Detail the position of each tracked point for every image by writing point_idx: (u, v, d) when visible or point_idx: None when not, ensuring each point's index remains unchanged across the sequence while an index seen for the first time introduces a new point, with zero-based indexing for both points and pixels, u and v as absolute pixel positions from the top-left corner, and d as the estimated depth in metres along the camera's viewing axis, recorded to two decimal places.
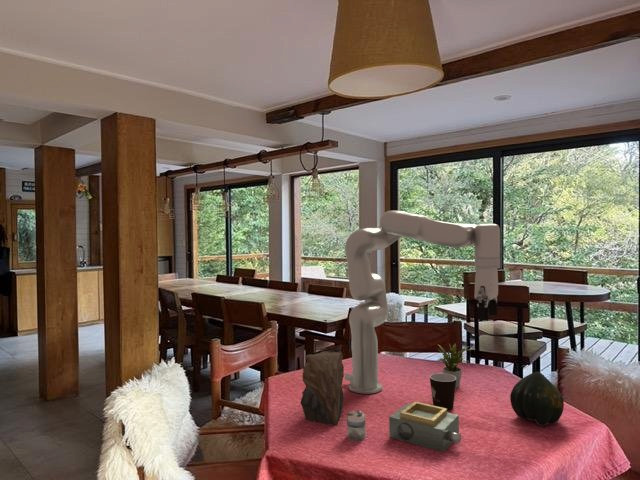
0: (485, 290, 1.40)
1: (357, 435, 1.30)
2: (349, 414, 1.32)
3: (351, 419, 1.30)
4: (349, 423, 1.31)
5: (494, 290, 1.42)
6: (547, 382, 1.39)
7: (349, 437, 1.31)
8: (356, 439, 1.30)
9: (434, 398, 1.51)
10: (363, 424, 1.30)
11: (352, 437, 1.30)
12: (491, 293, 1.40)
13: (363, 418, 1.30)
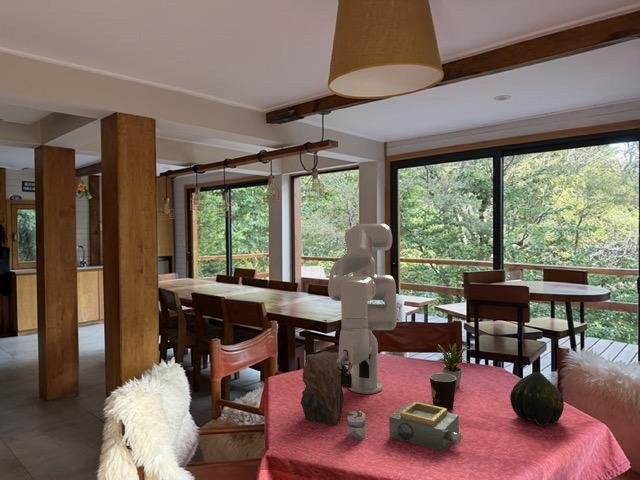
0: (348, 354, 1.27)
1: (357, 435, 1.30)
2: (349, 414, 1.32)
3: (351, 419, 1.30)
4: (349, 423, 1.31)
5: (360, 353, 1.29)
6: (547, 382, 1.39)
7: (349, 437, 1.31)
8: (356, 439, 1.30)
9: (434, 398, 1.51)
10: (363, 424, 1.30)
11: (352, 437, 1.30)
12: (355, 357, 1.27)
13: (363, 418, 1.30)
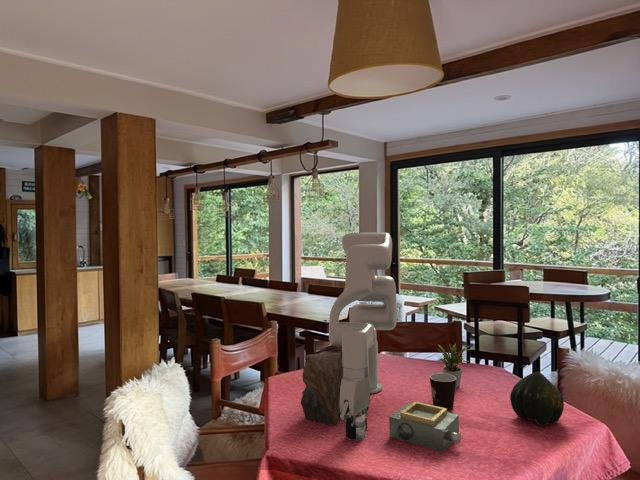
0: (348, 405, 1.27)
1: (357, 434, 1.30)
2: None
3: (351, 418, 1.30)
4: None
5: (361, 403, 1.30)
6: (547, 382, 1.39)
7: None
8: (356, 439, 1.30)
9: (434, 398, 1.51)
10: (363, 424, 1.30)
11: None
12: (356, 408, 1.28)
13: (363, 418, 1.30)
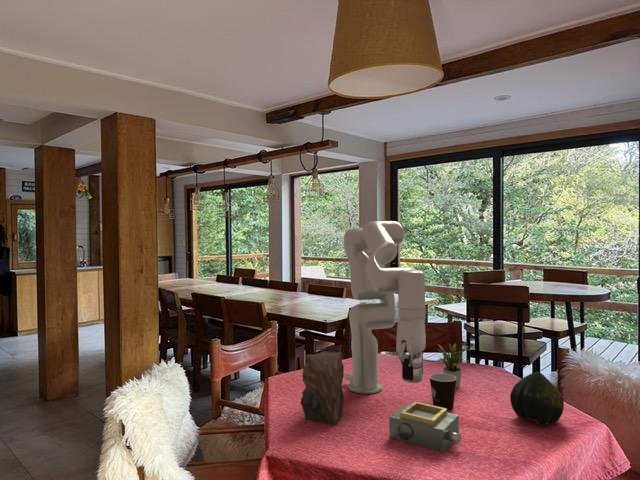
0: (406, 345, 1.26)
1: (414, 376, 1.29)
2: None
3: None
4: None
5: (418, 344, 1.29)
6: (547, 382, 1.39)
7: None
8: (413, 380, 1.29)
9: (434, 398, 1.51)
10: (420, 366, 1.29)
11: None
12: (413, 348, 1.27)
13: (420, 360, 1.29)
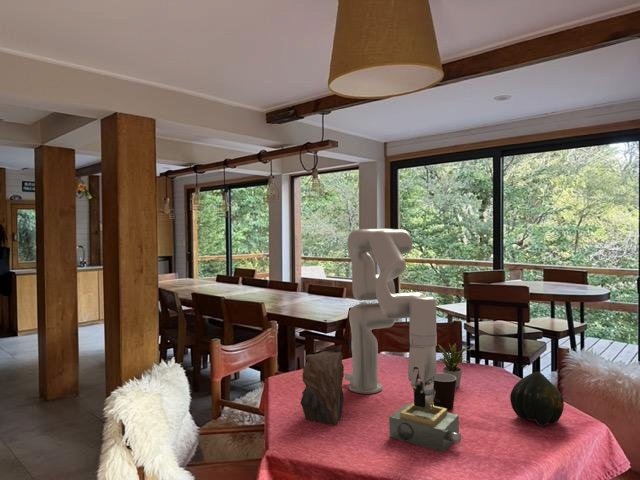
0: (418, 372, 1.27)
1: (426, 402, 1.29)
2: None
3: (420, 386, 1.29)
4: None
5: (430, 370, 1.29)
6: (547, 382, 1.39)
7: None
8: (425, 407, 1.29)
9: (434, 398, 1.51)
10: (432, 392, 1.30)
11: None
12: (425, 375, 1.27)
13: (432, 386, 1.30)
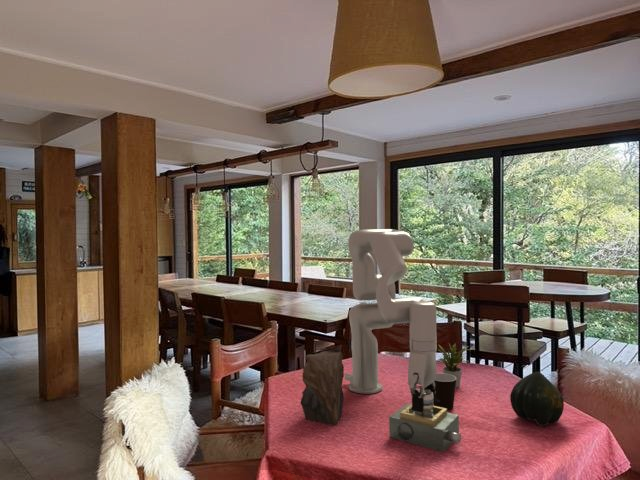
0: (418, 377, 1.27)
1: (426, 413, 1.29)
2: None
3: None
4: None
5: (430, 376, 1.29)
6: (547, 382, 1.39)
7: None
8: None
9: None
10: (432, 402, 1.30)
11: (421, 415, 1.29)
12: (425, 380, 1.27)
13: (432, 396, 1.30)
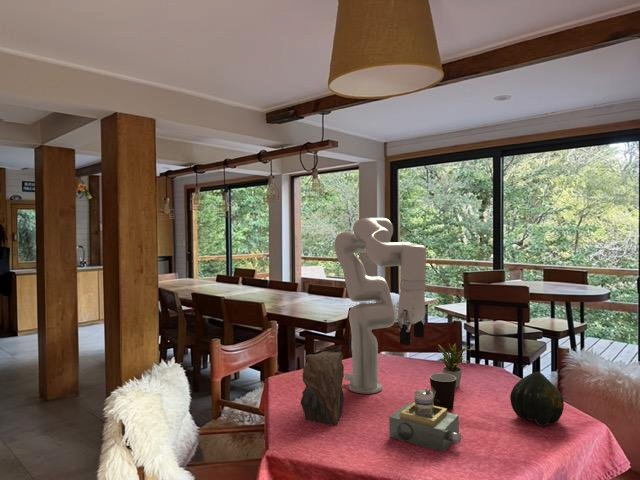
0: (407, 314, 1.35)
1: (426, 412, 1.29)
2: (417, 392, 1.32)
3: (420, 396, 1.30)
4: (417, 401, 1.30)
5: (418, 313, 1.38)
6: (547, 382, 1.39)
7: None
8: None
9: (434, 398, 1.51)
10: (432, 402, 1.30)
11: (421, 415, 1.30)
12: (414, 317, 1.36)
13: (432, 396, 1.30)
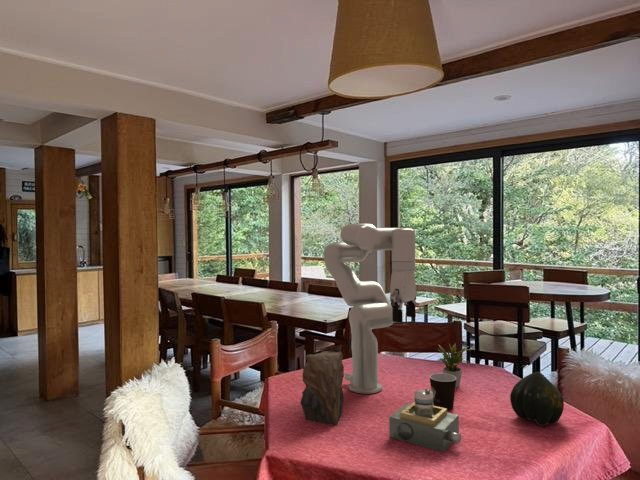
0: (399, 293, 1.44)
1: (426, 412, 1.29)
2: (416, 392, 1.32)
3: (420, 396, 1.30)
4: (417, 401, 1.30)
5: (409, 293, 1.46)
6: (547, 382, 1.39)
7: None
8: None
9: (434, 398, 1.51)
10: (431, 402, 1.30)
11: (421, 414, 1.30)
12: (405, 296, 1.44)
13: (431, 396, 1.30)
